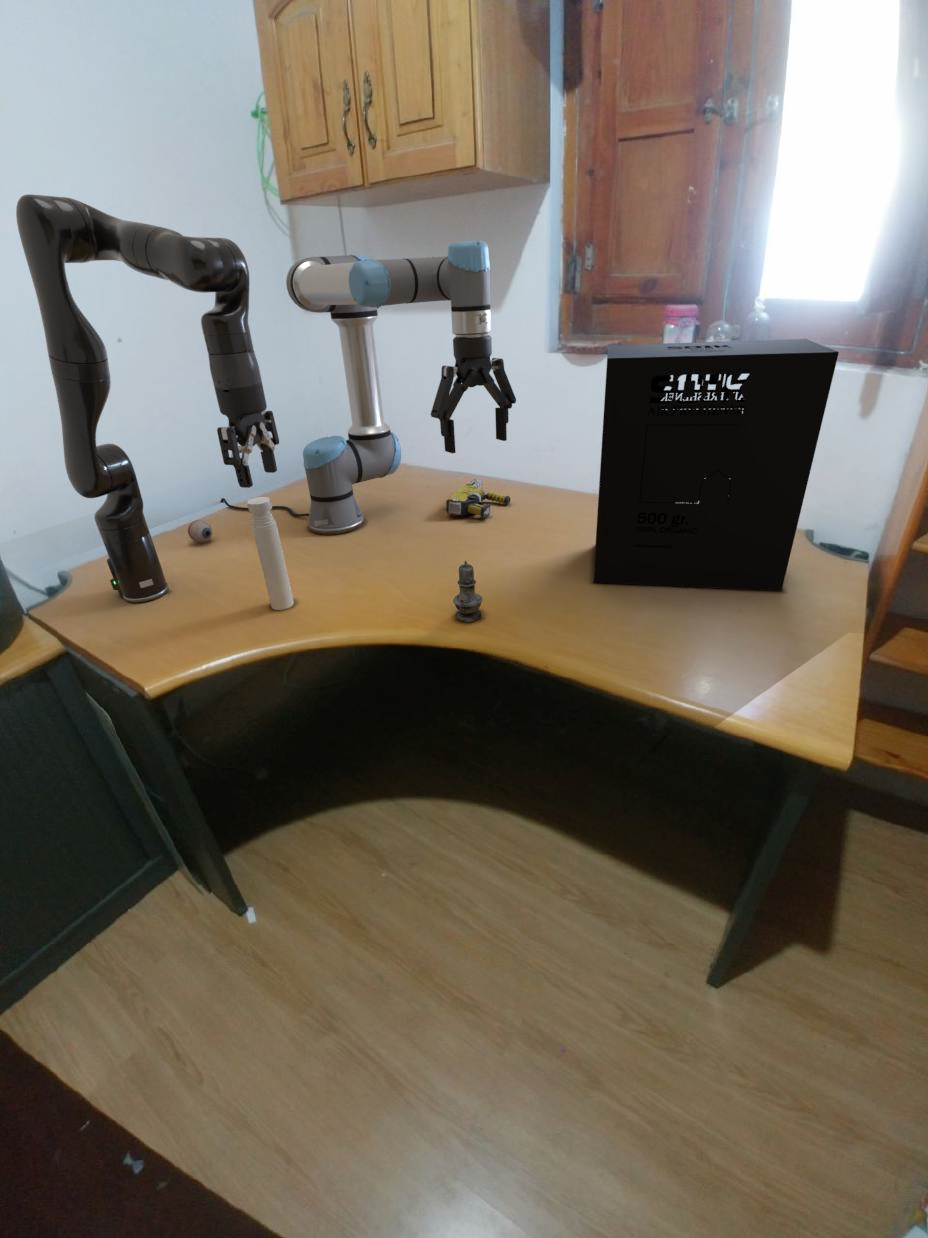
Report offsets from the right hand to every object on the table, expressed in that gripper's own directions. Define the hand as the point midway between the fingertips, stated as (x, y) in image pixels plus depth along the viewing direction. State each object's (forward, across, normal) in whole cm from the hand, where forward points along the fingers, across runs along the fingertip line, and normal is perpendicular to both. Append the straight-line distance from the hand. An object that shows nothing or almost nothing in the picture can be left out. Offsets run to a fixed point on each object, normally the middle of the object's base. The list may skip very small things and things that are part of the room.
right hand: (476, 445), depth 127 cm
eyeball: (+28, -46, +63) cm, 83 cm away
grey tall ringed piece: (+28, -16, -17) cm, 36 cm away
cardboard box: (+28, +33, -31) cm, 53 cm away
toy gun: (+28, +26, +32) cm, 50 cm away
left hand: (-2, -46, +4) cm, 46 cm away
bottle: (+28, -44, +14) cm, 54 cm away
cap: (+5, -44, +14) cm, 46 cm away
